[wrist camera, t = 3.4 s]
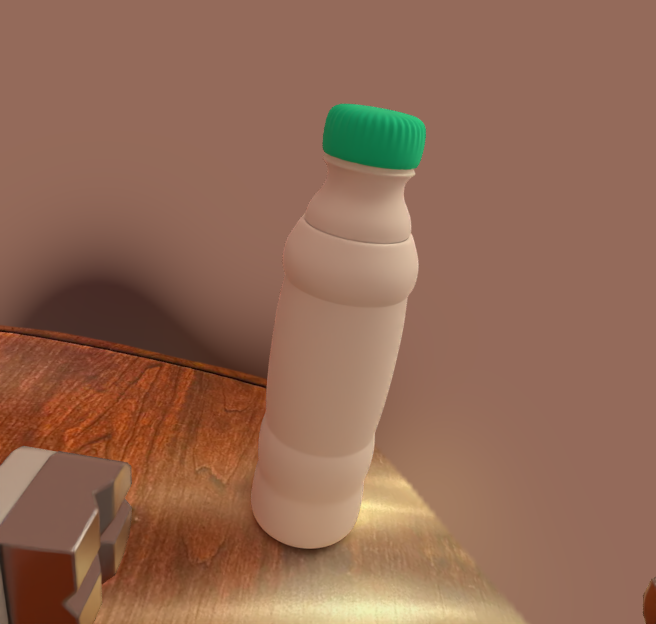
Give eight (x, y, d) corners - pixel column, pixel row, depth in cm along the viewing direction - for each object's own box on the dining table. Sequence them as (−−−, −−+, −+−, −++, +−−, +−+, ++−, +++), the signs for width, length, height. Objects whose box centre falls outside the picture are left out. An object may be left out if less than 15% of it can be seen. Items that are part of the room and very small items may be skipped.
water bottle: (378, 530, 35) (487, 129, 24) (282, 572, 31) (364, 116, 20) (319, 461, 40) (389, 104, 29) (231, 489, 36) (275, 90, 25)
